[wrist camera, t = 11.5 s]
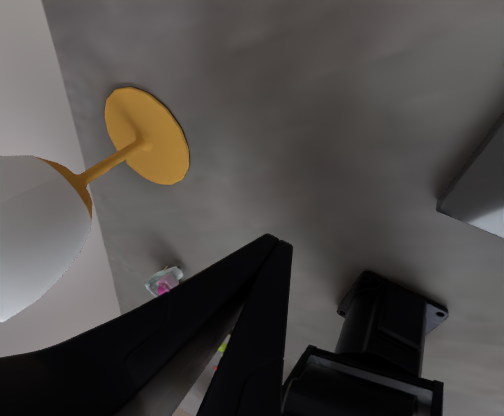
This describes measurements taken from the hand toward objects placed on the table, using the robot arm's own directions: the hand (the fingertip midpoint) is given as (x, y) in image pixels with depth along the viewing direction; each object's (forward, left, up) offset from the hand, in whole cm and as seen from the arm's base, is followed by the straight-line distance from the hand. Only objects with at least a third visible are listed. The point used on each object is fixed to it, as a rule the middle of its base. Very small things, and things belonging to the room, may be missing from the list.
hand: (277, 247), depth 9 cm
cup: (-9, +16, -12) cm, 22 cm away
